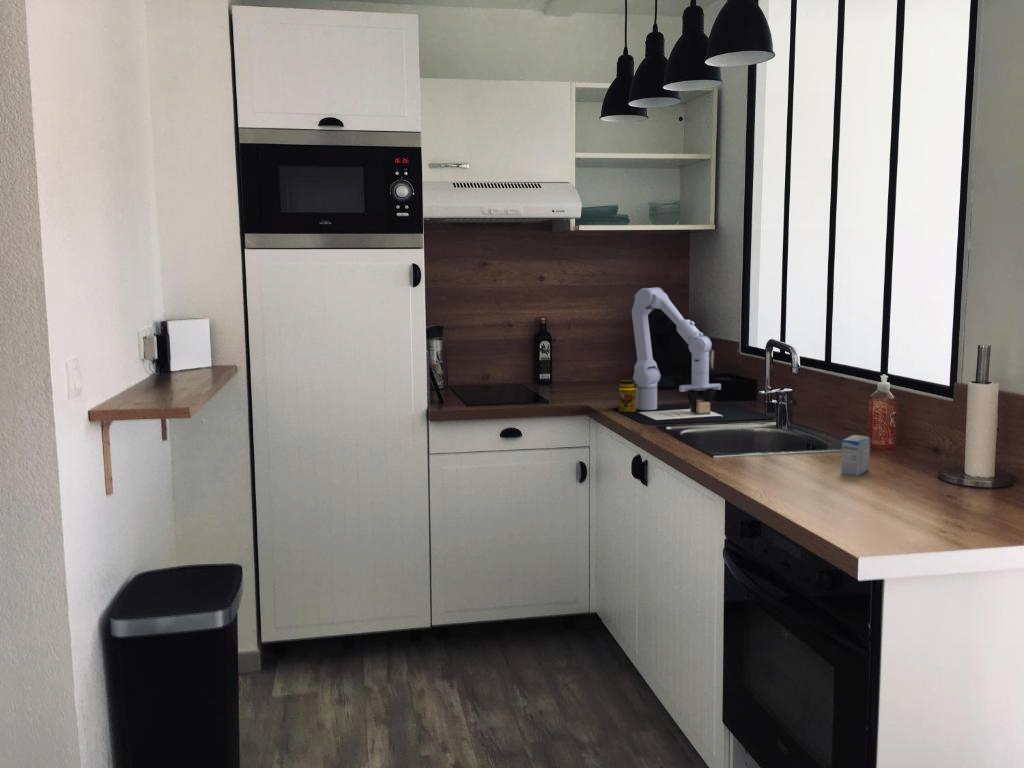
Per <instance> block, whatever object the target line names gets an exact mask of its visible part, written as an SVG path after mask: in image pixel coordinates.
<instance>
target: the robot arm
mask: <svg viewBox="0 0 1024 768" xmlns="http://www.w3.org/2000/svg"><path fill="white" fill-rule="evenodd" d="M654 309H658V310H661V311H662V312H663V313H664V314H665V315H666V316H667V317H668V318H669V319H670V320H671V321H672V322H673V323H674V324H675V325H676V332H677V333H678V334H679V335H680V336H681V338H682V339H683V340H684V341H685V342H686V344H687V345H688V350H689V352H690V354H691V383H690V384H681V385H679V386H678V387H679V388H678V390H679V392H681V393H682V392H683V393H685V396H686V397H687V399H688V402H689V405H691V409H692V412H696V402H697V400H698V395H699V393H698V392H697V391H699V392H700V391H702V395H703V400H704V401H707V402H710V404H712V403H711V402H712V400H713V398H714V396H715V394H716V390H718V391H719V390H721V389H722V384H721V383H710V377H709V375H710V351H711V350H712V345H713V343H712V341H711V338H710V337H708V336H706V335H704V333H703V332H702V331H700V330H699V329H698V328H697V327H696V326H695V324H696V323H695V322H694V321H693V320H691V319H685V318H684V316H683V315H682V314H681V313H680V311H679V310H678V308H676V306H675V305H674V304H673V303H672V301H671V300H670V298H669V296H668V294H667V293H666V292H664V290H663V289H662V288H661V287H657V286H655V287H642V288H640V289H639V290H638V291H637V292H636V294H634V302H633V306H632V308H631V318H632V325H633V334H634V335H633V336H634V343H635V350H636V359H637V360H636V363H635V365H634V367H633V369H634V373H633V376H632V380H634V381H635V388H636V410H639V411H640V410H641V411H654V410H655V411H656V410H657V409H658V383H659V382H660V380H661V373H660V372H661V371H660V370H659V368H658V364H657V362H656V361H655V360H654V358H653V356H654V355H653V349H652V340H651V333H650V324H649V323H650V322H649V314H650V313H651V312H652V311H653V310H654Z"/></svg>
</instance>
